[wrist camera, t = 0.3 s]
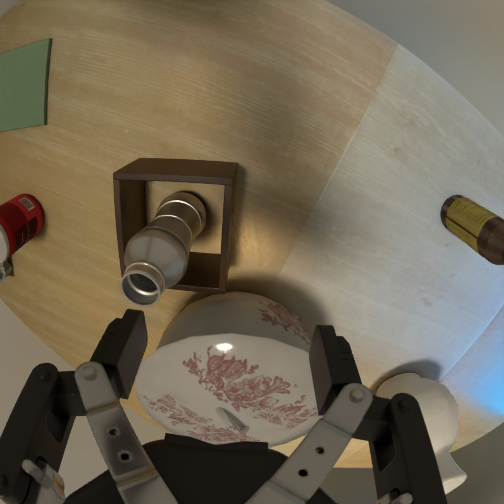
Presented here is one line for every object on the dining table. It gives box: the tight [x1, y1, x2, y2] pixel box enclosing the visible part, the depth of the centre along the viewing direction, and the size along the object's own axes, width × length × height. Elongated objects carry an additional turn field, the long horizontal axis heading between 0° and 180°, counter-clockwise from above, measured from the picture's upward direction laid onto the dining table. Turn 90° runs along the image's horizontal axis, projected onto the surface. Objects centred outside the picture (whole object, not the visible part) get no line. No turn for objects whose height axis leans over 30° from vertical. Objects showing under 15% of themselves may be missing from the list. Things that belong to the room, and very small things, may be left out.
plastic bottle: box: [121, 192, 206, 306], centre depth 34 cm, size 6×7×20 cm
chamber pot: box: [135, 291, 323, 449], centre depth 44 cm, size 28×28×21 cm
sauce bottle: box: [441, 195, 504, 265], centre depth 34 cm, size 6×6×20 cm
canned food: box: [0, 195, 44, 263], centre depth 38 cm, size 8×8×11 cm
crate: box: [113, 158, 237, 294], centre depth 39 cm, size 15×14×9 cm
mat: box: [0, 38, 52, 132], centre depth 33 cm, size 14×14×1 cm
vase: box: [376, 373, 467, 494], centre depth 48 cm, size 19×21×30 cm
